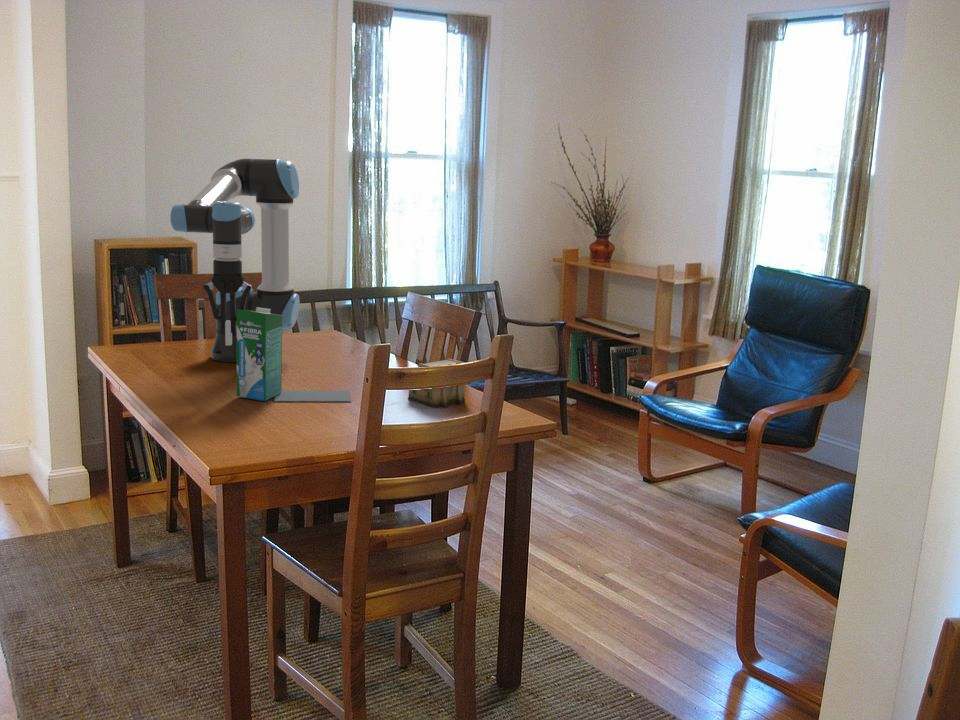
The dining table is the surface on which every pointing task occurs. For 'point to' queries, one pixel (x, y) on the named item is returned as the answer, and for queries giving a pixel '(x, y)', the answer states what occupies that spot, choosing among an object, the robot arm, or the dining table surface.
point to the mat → (313, 396)
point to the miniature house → (439, 391)
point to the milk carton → (259, 354)
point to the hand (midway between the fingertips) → (228, 344)
